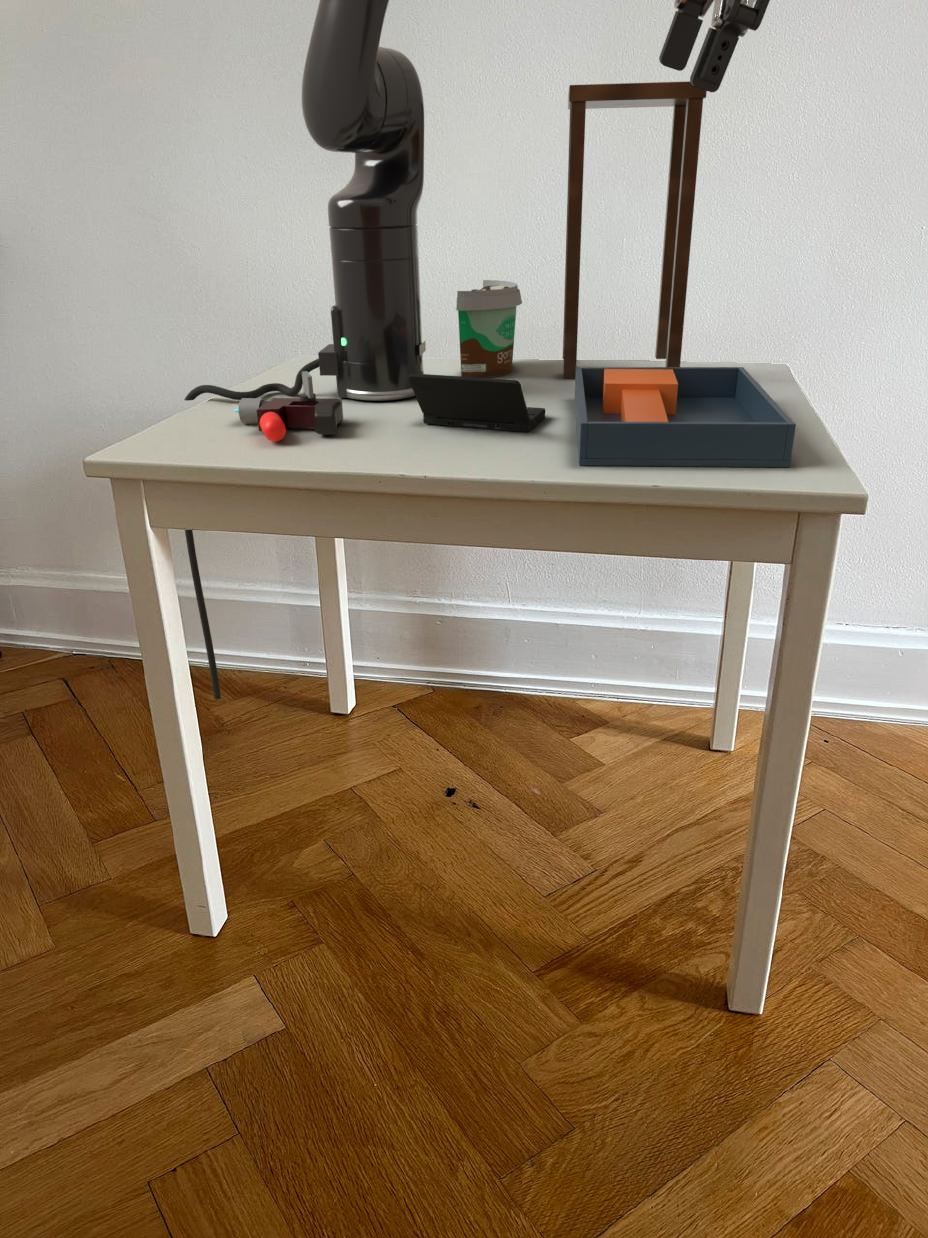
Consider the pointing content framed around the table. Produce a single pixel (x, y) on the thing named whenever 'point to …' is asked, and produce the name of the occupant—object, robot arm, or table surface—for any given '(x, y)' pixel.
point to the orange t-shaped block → (640, 394)
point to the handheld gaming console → (474, 402)
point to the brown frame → (677, 206)
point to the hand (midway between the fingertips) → (685, 77)
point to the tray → (687, 423)
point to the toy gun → (292, 412)
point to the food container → (487, 328)
